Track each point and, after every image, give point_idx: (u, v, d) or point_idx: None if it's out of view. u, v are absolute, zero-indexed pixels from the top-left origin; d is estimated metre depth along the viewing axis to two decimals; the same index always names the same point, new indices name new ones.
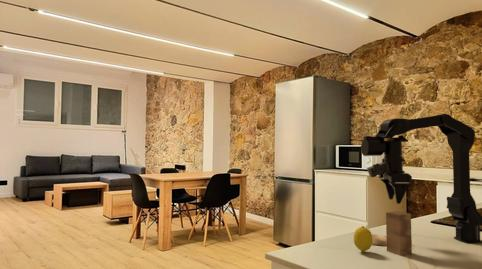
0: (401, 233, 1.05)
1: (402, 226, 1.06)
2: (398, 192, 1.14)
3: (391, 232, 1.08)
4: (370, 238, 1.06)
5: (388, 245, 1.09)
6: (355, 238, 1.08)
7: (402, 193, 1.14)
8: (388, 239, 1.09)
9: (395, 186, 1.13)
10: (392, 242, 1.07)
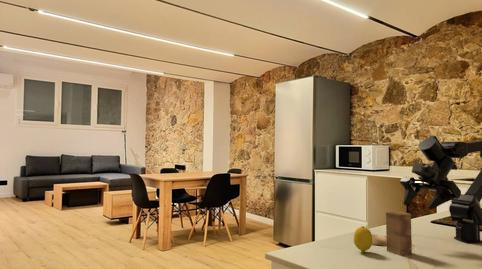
0: (401, 233, 1.05)
1: (402, 226, 1.06)
2: (437, 199, 1.08)
3: (391, 232, 1.08)
4: (370, 238, 1.06)
5: (388, 245, 1.09)
6: (355, 238, 1.08)
7: (439, 203, 1.08)
8: (388, 239, 1.09)
9: (441, 192, 1.07)
10: (392, 242, 1.07)
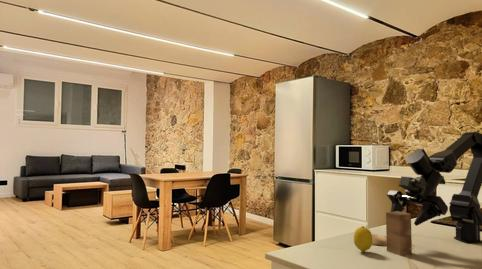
0: (401, 233, 1.05)
1: (402, 226, 1.06)
2: (424, 215, 1.05)
3: (391, 232, 1.08)
4: (370, 238, 1.06)
5: (388, 245, 1.09)
6: (355, 238, 1.08)
7: (425, 218, 1.05)
8: (388, 239, 1.09)
9: (428, 208, 1.05)
10: (392, 242, 1.07)
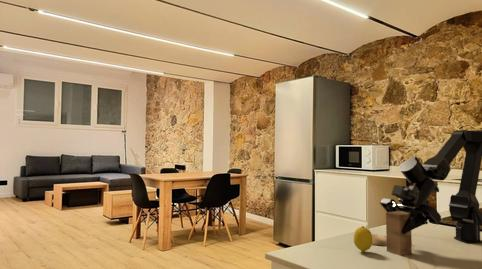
0: (401, 233, 1.05)
1: (402, 226, 1.06)
2: (411, 223, 1.05)
3: (391, 232, 1.08)
4: (370, 238, 1.06)
5: (388, 245, 1.09)
6: (355, 238, 1.08)
7: (413, 227, 1.06)
8: (388, 239, 1.09)
9: (415, 216, 1.05)
10: (392, 242, 1.07)
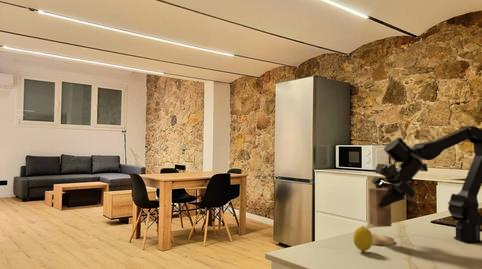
0: (378, 206, 1.15)
1: (379, 200, 1.16)
2: (388, 198, 1.15)
3: (371, 206, 1.18)
4: (370, 238, 1.06)
5: (370, 218, 1.19)
6: (355, 238, 1.08)
7: (390, 201, 1.15)
8: (370, 212, 1.19)
9: (391, 191, 1.14)
10: (373, 215, 1.18)
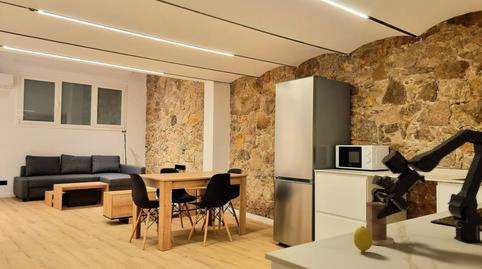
0: (374, 220, 1.19)
1: (375, 214, 1.19)
2: (386, 210, 1.16)
3: (368, 219, 1.22)
4: (370, 238, 1.06)
5: None
6: (355, 238, 1.08)
7: (388, 213, 1.16)
8: (367, 226, 1.23)
9: (389, 204, 1.15)
10: (369, 228, 1.21)
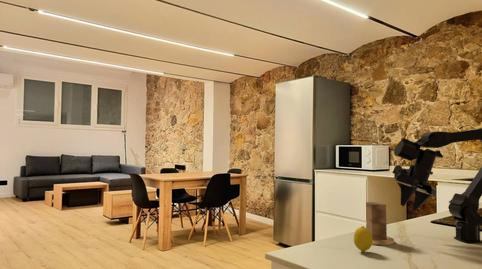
0: (374, 220, 1.19)
1: (375, 215, 1.19)
2: (403, 194, 1.19)
3: (368, 219, 1.22)
4: (370, 238, 1.06)
5: None
6: (355, 238, 1.08)
7: (406, 196, 1.18)
8: (367, 226, 1.23)
9: (401, 187, 1.19)
10: (369, 228, 1.21)
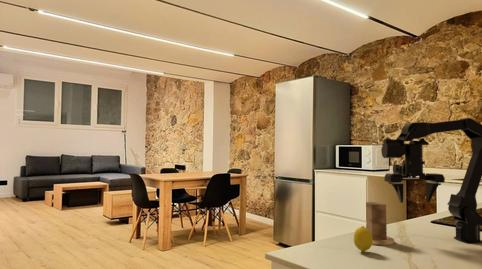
0: (374, 220, 1.19)
1: (375, 215, 1.19)
2: (397, 191, 1.23)
3: (368, 219, 1.22)
4: (370, 238, 1.06)
5: None
6: (355, 238, 1.08)
7: (399, 193, 1.22)
8: (367, 226, 1.23)
9: (393, 185, 1.24)
10: (369, 228, 1.21)
